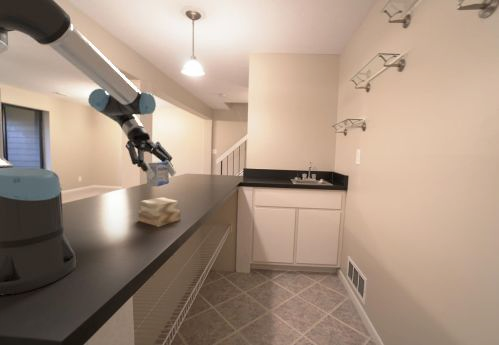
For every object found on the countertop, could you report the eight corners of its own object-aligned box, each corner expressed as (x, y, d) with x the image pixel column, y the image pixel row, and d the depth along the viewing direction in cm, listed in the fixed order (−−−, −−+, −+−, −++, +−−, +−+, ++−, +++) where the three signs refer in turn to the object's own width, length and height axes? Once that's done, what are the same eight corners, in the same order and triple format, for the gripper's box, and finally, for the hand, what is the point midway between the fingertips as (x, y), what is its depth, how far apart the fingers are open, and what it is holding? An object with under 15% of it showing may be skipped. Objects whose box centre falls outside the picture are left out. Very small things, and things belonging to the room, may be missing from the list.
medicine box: (157, 186, 84) (156, 163, 83) (146, 186, 85) (145, 162, 84) (169, 183, 92) (168, 161, 91) (159, 183, 93) (158, 161, 92)
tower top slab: (156, 216, 83) (156, 205, 82) (141, 211, 89) (140, 200, 89) (178, 211, 90) (178, 201, 89) (162, 206, 96) (162, 197, 96)
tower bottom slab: (158, 227, 83) (157, 216, 82) (138, 221, 89) (138, 211, 89) (180, 220, 91) (180, 210, 90) (161, 215, 97) (160, 206, 97)
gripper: (155, 140, 104) (181, 178, 97) (105, 139, 86) (132, 186, 79) (163, 128, 101) (190, 166, 94) (112, 124, 82) (140, 171, 76)
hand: (163, 175), depth 87 cm, fingers closed on medicine box, 9 cm apart
